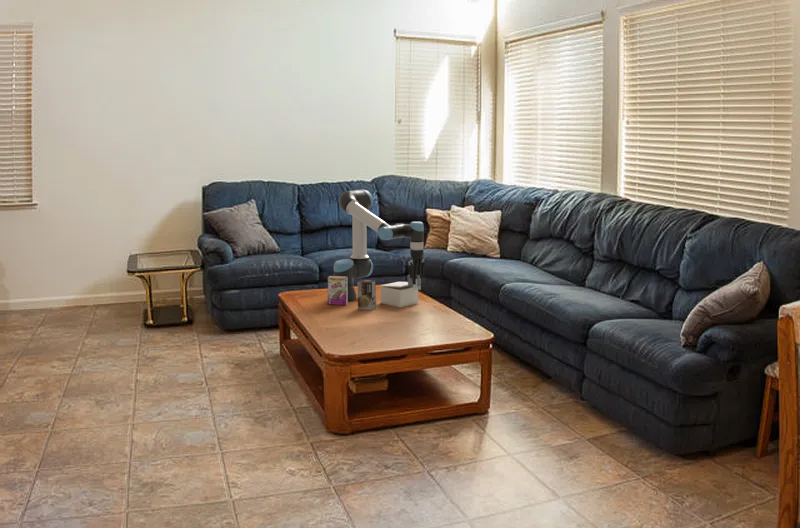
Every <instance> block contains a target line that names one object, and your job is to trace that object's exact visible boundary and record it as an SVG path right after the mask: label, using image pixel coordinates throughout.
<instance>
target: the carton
mask: <svg viewBox="0 0 800 528" xmlns="http://www.w3.org/2000/svg"><path fill="white" fill-rule="evenodd" d="M380 304H384V305H388V306H392V307H396V308H404V307H408V306H412V305H416V304H419V289H417V290H413V286H404V287H383V286H381V285H380Z"/></svg>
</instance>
